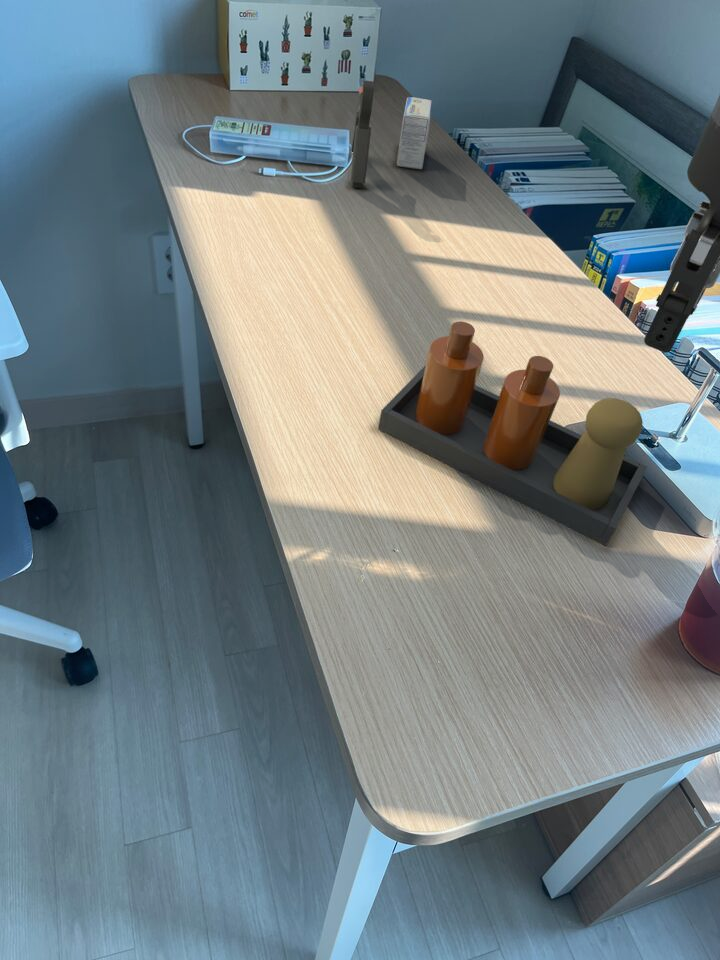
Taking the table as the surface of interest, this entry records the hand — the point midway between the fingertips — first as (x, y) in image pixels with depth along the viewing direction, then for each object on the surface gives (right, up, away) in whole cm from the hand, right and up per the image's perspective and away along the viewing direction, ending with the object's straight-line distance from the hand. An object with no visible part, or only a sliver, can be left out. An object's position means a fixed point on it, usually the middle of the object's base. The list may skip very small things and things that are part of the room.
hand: (671, 323), depth 63 cm
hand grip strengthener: (-26, +38, +62) cm, 77 cm away
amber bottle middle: (-10, -10, +19) cm, 23 cm away
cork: (-3, -14, +16) cm, 22 cm away
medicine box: (-17, +42, +67) cm, 81 cm away
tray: (-10, -11, +19) cm, 24 cm away
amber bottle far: (-17, -6, +21) cm, 28 cm away
